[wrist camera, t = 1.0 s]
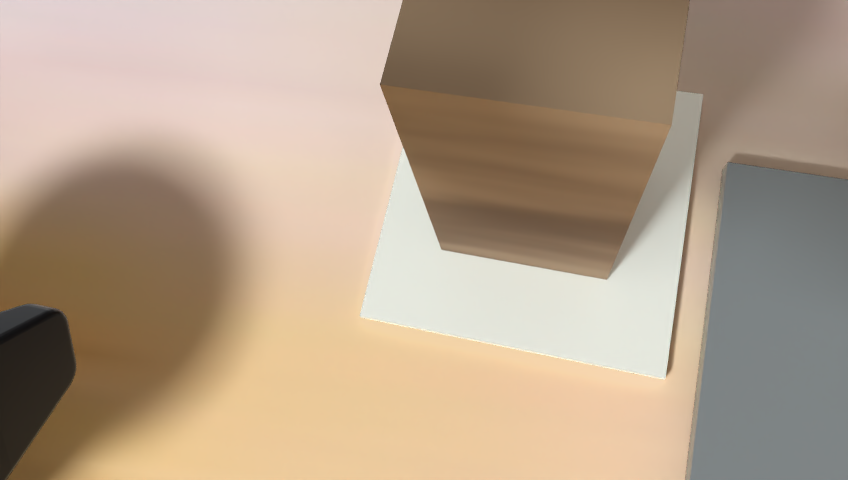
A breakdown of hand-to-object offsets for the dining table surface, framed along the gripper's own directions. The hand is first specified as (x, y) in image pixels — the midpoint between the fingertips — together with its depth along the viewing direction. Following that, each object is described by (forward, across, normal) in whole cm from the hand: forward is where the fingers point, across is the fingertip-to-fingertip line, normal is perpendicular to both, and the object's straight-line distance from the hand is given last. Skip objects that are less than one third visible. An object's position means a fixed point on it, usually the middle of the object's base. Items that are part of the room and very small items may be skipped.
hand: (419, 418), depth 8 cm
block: (+14, 0, +4) cm, 15 cm away
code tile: (+15, 0, +4) cm, 15 cm away
